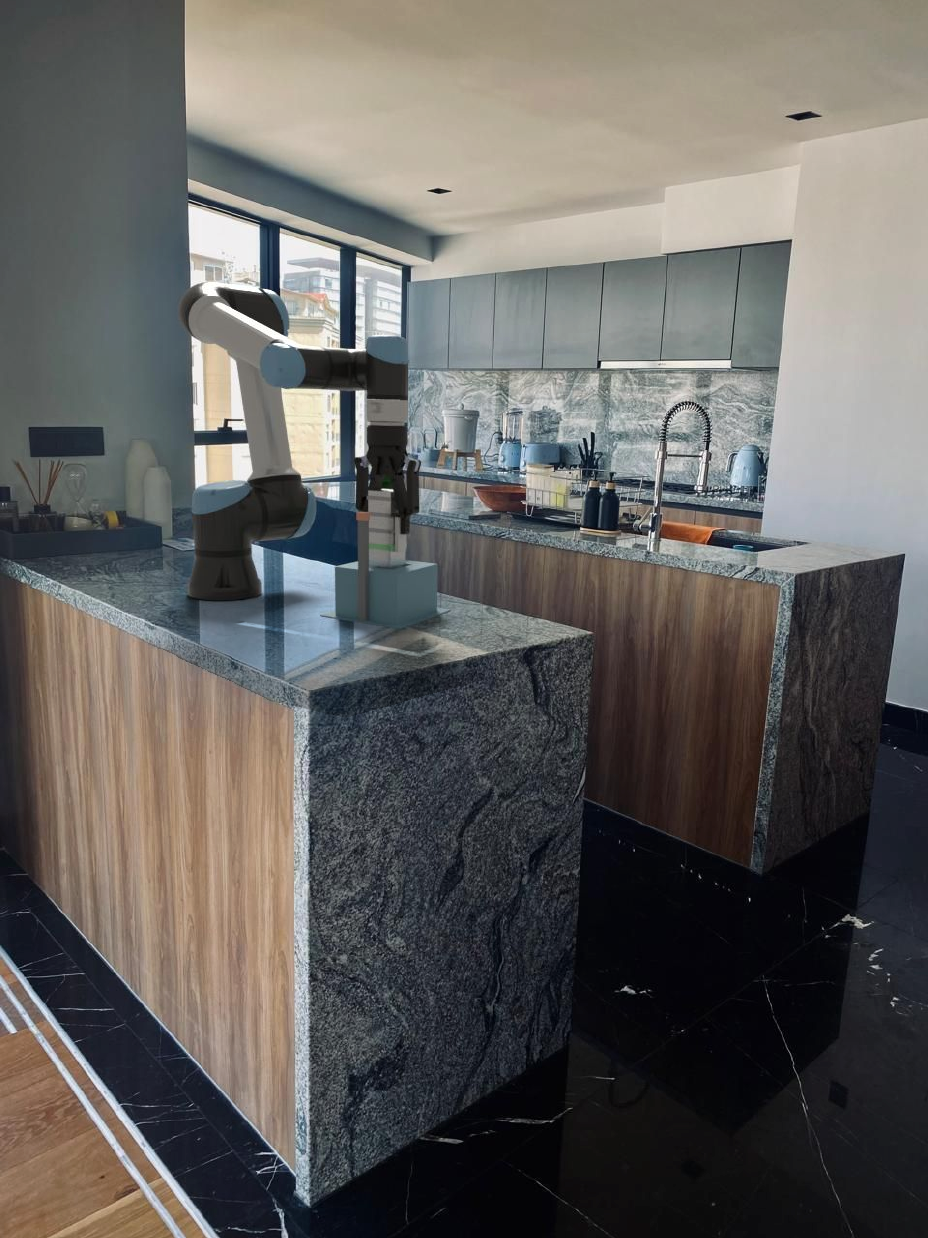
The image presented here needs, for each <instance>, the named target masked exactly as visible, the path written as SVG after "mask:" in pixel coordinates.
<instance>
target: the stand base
mask: <svg viewBox="0 0 928 1238" xmlns="http://www.w3.org/2000/svg"><path fill="white" fill-rule="evenodd" d="M355 514H356V518H355V519H356V521H357V561H354V562H349V563H344V564H340V565H336V566H334V594H335V595H334V597H335V598H334V601H335V603H334V604H335V608H334V610H333V611H329V612H326V613H324V614H320V617H324V618H331V619H337V620H341V621H346V622H347V621H349V622H352V623H353V622H355V623H361V624H367V625H373V626H379V627H385V628H391V629H398V630H402V629H404V628H407V627H410V626H412V625H415V624H416V625H417V624H418V623H421V622H423V621H426V620H429V619H432V618H436V617H437V616H440V615H443V614H445V613H448V612H451V611H452V610H451V609H449V608H441V607H438V572H439V571H438V568H439V567H438V563H434V562H425V561H416V560H407V559H406V560H405V567H401V568H397V569H393V570H390V569H382V568H374V567H369V520H370V512H359V511H356V512H355Z"/></svg>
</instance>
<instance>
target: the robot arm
mask: <svg viewBox="0 0 928 1238" xmlns="http://www.w3.org/2000/svg"><path fill="white" fill-rule="evenodd" d="M177 312H178V318H179V322H180V324H181V326H182V328H183V329H184V330H185V331H186V332H187V334H189V335H190V336H191V337H193V338H194V339H196V340H197V341H199V342H201V343H203V344H207V345H217V346H218V347H220V348H222V349H223V350H225V351H226V353H227V355H228V356H229V357H230V358H231V359H233V360H234V361H235V364H236V372H237V378H238V385H239V390H240V396H241V398H240V399H241V404H242V409H243V416H244V423H245V431H246V435H247V443H248V449H249V457H250V463H251V468H252V469H251V471H252V473H251V474H250V475H249V477H248V478H247V479H246V480H239V479H237V480H234V479H233V480H224V481H215V482H209V483H205V484H202V485H200V486H198V487H196V488H195V489H194V491H193V493H192V494H191V495H192V501H191V509H190V510H191V513H192V526H193V528H192V529H193V545H194V547H193V548H194V561H193V565H192V569H191V574H190V579H189V580H188V583H187V595H188V597H189V598H193V599H197V600H203V601H204V600H205V601H236V600H242V599H243V600H244V599H250V598H253V597H254V598H255V597H257V596H260V595H261V594H262V593H263V592H262V591H263V588H262V581H261V579H260V578H259V575H258V572H257V568H256V564H255V562H254V559H253V550H252V549H253V548H252V547H253V545H252V543H254V542H255V543H256V542H263V541H273V540H274V541H275V540H288V539H292V538H299V537H303V536H304V535H306V534H308V532H309V531H310V530H311V528H312V526H313V524H314V522H315V520H316V516H317V515H316V514H317V499H316V496H315V493H314V491H313V490H312V488H311V486H310V485H307V484H305V483H303V482H302V475H301V473H300V472H298V471H297V470H296V469H295V468H294V467H293V461H292V454H291V449H290V443H289V435H288V427H287V422H286V421H287V420H286V414H285V408H284V399H283V395H282V389H285V390H292V389H299V390H300V389H302V390H323V391H324V390H327V391H328V390H329V391H339V392H353V391H354V392H356V391H357V392H358V391H360V392H361V391H362V392H363V391H366V421H367V422H368V423H369V425H367V427H366V444H367V446H368V448H367V451H366V454H365V455H363V456H355V457H354V458H353V463H354V466H355V472H356V473H355V509H356V510H357V511H359V510H361V511H363V512H368V499H367V496H368V490H379V489H381V486H382V482H383V480H384V479H385V476H389V480H390V481H391V483H392V487H393V491H394V492H395V497H396V505H397V509H398V513H399V515H397V517H395V552H403V551H406V552H407V548H406V534H407V535H409V534H410V532H411V529H410V528H411V526H410V524H411V516H413V515H416V514H419V513H420V477H419V474H420V470H421V467H422V461H421V460H420V459H414V458H411V457H410V456H409V453H408V451H407V448H408V447H407V446H408V444H409V443H408V442H409V439H408V436H409V434H408V433H409V428H408V427H407V425H405V423H409V400H408V399H409V363H410V359H409V347H408V344H409V343H408V341H407V339H406V338H405V337H402V336H399V335H385V334H379V335H378V334H377V335H375V334H374V335H370V336H368V337H367V338H366V344H365V345H366V346H365V348H355V349H354V348H340V347H339V348H338V347H327V346H326V347H325V346H313V345H304V344H300V343H298V342H295V340H292V339H290V338H288V336H289V331H288V330H290V325H291V324H290V317H289V313H288V312H289V311H288V309H287V306H286V304H285V302H284V300H283V299H282V298H281V296H279V295H278V294H277V293H276V292H275V291H274V290H273V291H272V290H270V289H265V288H262V287H259V286H247V285H237V284H230V283H222V282H215V281H205V282H200V283H196V284H194V285H193V286H191V287H190V288H188V289H187V290H186V291H185V292H184V294H183V295H182V296H181V298H180V300H179V304H178V311H177ZM369 466H371V469H370V468H369ZM404 468H405V469H406V473H405V472H404ZM369 478H370V479H369ZM405 480H406V481H405Z"/></svg>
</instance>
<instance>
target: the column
mask: <svg viewBox="0 0 928 1238" xmlns="http://www.w3.org/2000/svg"><path fill="white" fill-rule="evenodd" d="M367 499H368V512H370V520H369V567H374V568H382V569H390V570H393V569H397V568H401V567H405V551H403V552H395V517H397V515H399V513H398V509H397V505H396V497H395V492H394V491H393V489H379V490H368V496H367ZM407 546H408V541H407V542H406V549H407V548H408V547H407Z"/></svg>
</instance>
